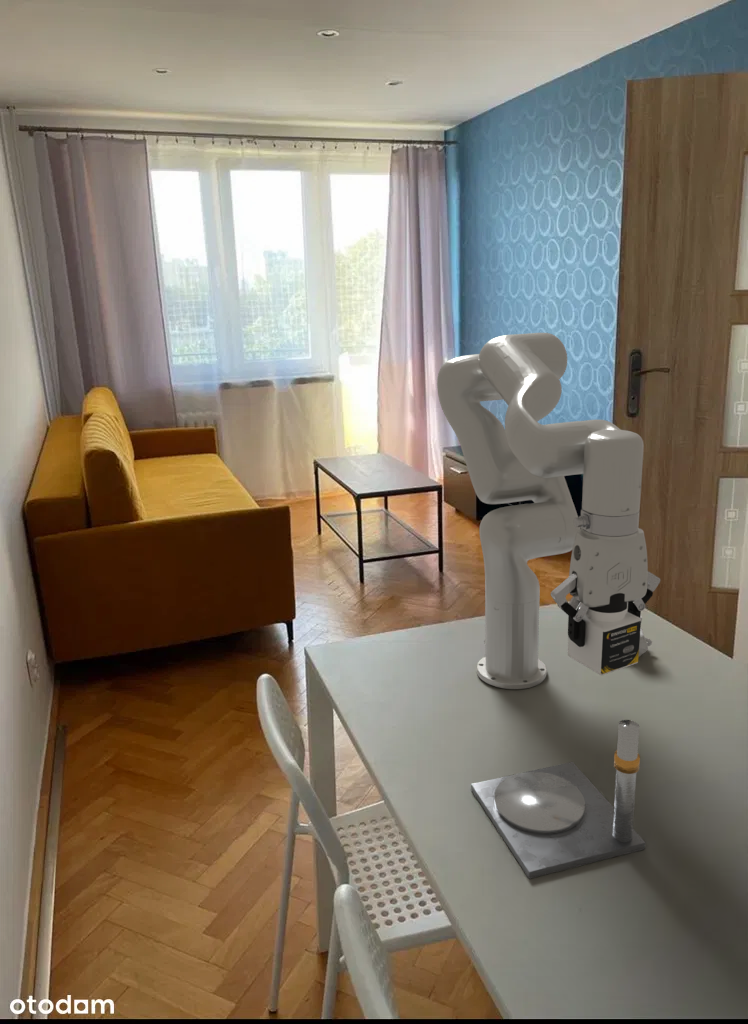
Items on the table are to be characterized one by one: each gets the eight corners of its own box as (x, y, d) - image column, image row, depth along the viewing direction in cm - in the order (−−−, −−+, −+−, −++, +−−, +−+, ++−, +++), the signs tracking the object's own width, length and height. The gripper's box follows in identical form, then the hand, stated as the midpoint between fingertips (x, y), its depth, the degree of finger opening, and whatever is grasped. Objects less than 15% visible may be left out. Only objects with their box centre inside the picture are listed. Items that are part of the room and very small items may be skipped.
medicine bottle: (601, 676, 108) (605, 596, 104) (566, 656, 114) (569, 579, 110) (639, 663, 111) (644, 585, 107) (603, 644, 117) (607, 569, 113)
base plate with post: (471, 789, 110) (470, 682, 106) (572, 767, 114) (576, 663, 110) (528, 878, 94) (531, 756, 89) (644, 849, 98) (653, 730, 93)
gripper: (566, 537, 100) (561, 659, 105) (682, 521, 105) (672, 639, 110) (538, 521, 107) (536, 636, 112) (648, 506, 112) (641, 618, 117)
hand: (603, 637), depth 111 cm, fingers closed on medicine bottle, 8 cm apart
